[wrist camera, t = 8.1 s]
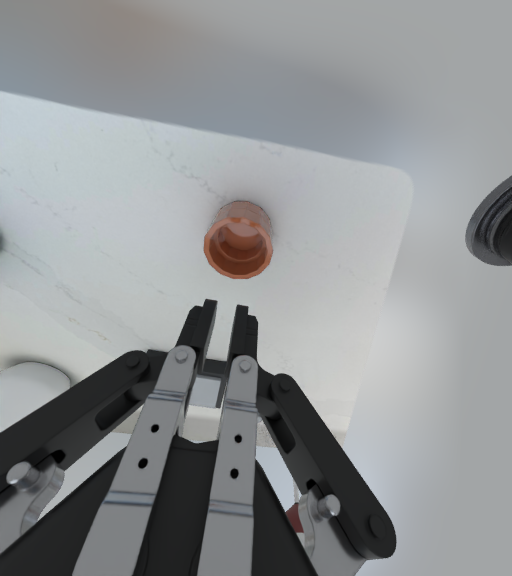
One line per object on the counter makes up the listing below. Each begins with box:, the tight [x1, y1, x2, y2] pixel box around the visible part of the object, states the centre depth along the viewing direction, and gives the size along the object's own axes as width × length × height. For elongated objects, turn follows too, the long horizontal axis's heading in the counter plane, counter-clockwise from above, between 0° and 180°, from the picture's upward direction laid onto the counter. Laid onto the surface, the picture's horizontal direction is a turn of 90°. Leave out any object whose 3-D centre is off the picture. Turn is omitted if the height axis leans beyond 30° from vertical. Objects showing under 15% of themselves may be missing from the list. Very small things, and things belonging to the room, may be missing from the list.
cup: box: [0, 362, 70, 432], centre depth 39 cm, size 13×13×14 cm
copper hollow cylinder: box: [204, 202, 273, 279], centre depth 22 cm, size 6×6×5 cm
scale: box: [146, 350, 227, 408], centre depth 41 cm, size 14×12×3 cm
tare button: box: [257, 413, 262, 423], centre depth 45 cm, size 3×3×2 cm
